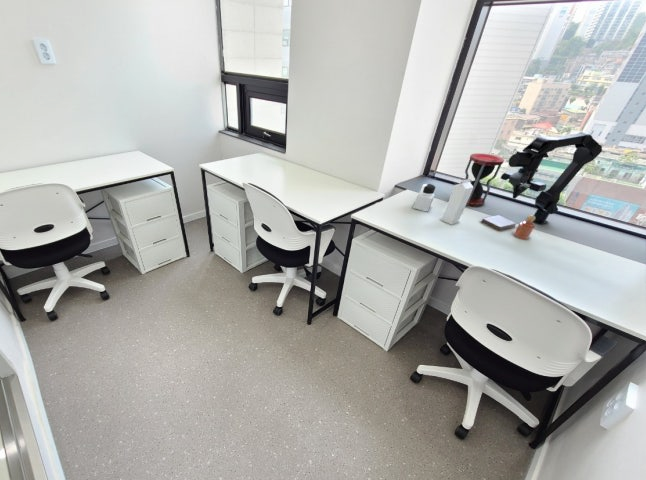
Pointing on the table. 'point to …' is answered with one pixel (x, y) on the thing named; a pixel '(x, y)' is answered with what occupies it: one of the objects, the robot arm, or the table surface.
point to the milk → (457, 202)
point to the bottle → (525, 228)
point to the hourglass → (481, 175)
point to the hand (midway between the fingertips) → (513, 198)
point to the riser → (498, 222)
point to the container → (425, 197)
